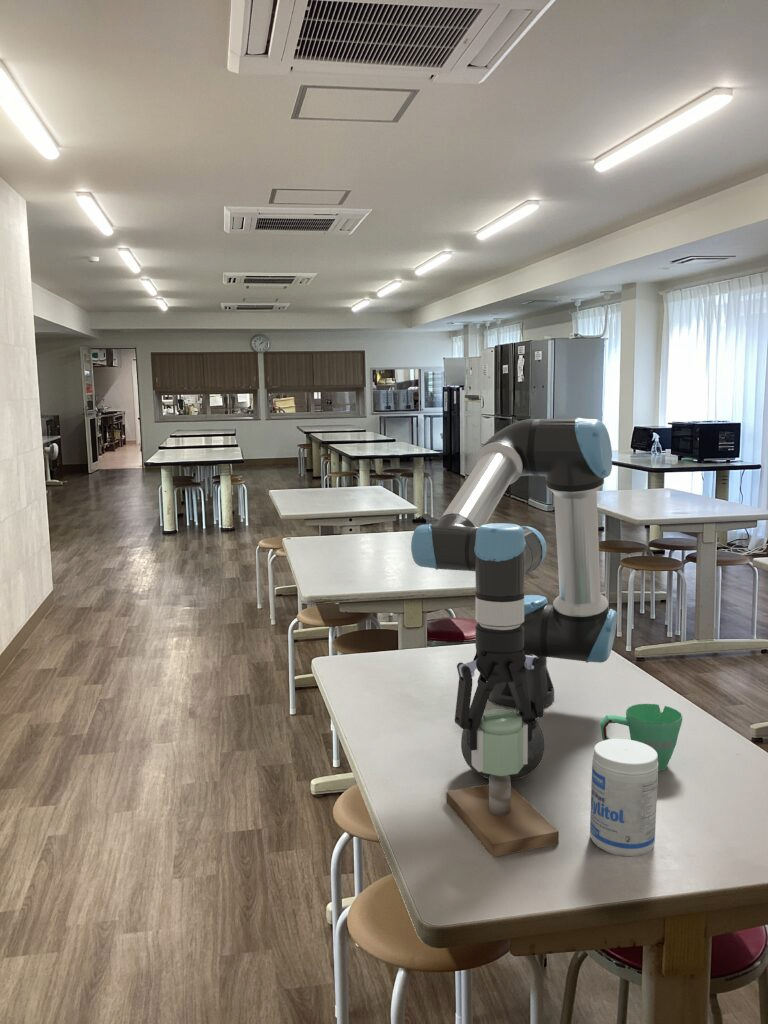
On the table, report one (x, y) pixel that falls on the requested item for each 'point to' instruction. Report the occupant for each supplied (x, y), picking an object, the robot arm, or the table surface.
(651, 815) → the supplement tub
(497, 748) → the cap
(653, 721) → the mug
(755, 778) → the table surface
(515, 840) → the stud block
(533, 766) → the bowl
